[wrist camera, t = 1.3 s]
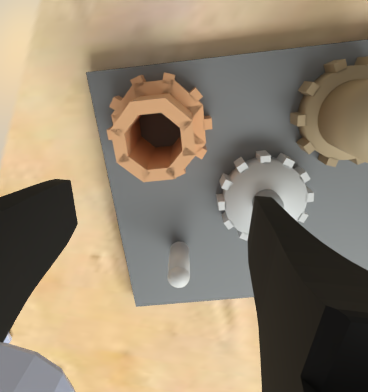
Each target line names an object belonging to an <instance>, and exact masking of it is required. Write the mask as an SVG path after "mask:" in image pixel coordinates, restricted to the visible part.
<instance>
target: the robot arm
mask: <svg viewBox="0 0 368 392" xmlns="http://www.w3.org/2000/svg"><path fill="white" fill-rule="evenodd" d="M77 224H78V223H77V217H76V211H75V205H74V199H73V193H72V187H71V181H70V180H61V179H54V180H49V181H46V182H42V183H39V184H36V185H33V186H30V187H28V188H25V189H22V190H19V191H16V192H14V193H11V194H8V195H5V196H2V197H0V392H75V390H74V388H73V386H72V384H71V383H70V381H69V380H68V378H67V377H66V375H65V373H64V372H63V370H62V369H61V368H60V367H58V366H57V365H55V364H54V363H52V362H51V361H49V360H48V359H46V358H45V357H43V356H42V355H40V354H39V353H37V352H34V351H31V350H28V349H25V348H21V347H18V346H15V345H11V344H9V343H10V341H11V340H12V337H11V335H10V333H9V331H10V329H11V327H12V325H13V324H14V322H15V320H16V318H17V316H18V315H19V313H20V311H21V310H22V308H23V306H24V304H25V303H26V301H27V299H28V298H29V296H30V295H31V293H32V292H33V290H34V289H35V287H36V286H37V284H38V283H39V282H40V280H41V279H42V278H43V276H44V275H45V274H46V272H47V271H48V270H49V268H50V267H51V266H52V264H53V263H54V262H55V260H56V259H57V257H58V256H59V255H60V253H61V252H62V251H63V249H64V248H65V246H66V245H67V243H68V242H69V240H70V238H71V236H72V234H73V232H74V230H75V228H76V226H77ZM248 264H249V270H250V276H251V282H252V288H253V293H254V299H255V305H256V311H257V318H258V326H259V341H260V358H261V377H262V392H368V270H366V269H364V268H362V267H361V266H359V265H357V264H355V263H353V262H352V261H350V260H348V259H347V258H345V257H343V256H342V255H340V254H339V253H337V252H336V251H334V250H333V249H331V248H330V247H328V246H327V245H325V244H324V243H323V242H321V241H320V240H319V239H317V238H316V237H315V236H314V235H312V234H311V233H310V232H309V231H307V230H306V229H305V228H304V227H303V226H302V225H300V224H299V223H298V222H297V221H296V220H295V219H294V218H293V217H292V216H291V215H290V214H289V213H288V212H287V211H285V210H284V209H283V208H282V207H281V206H280V205H279V204H278V203H277V202H276V201H275V200H274V199H273V198H272V197H265V196H255V197H254V203H253V210H252V216H251V222H250V228H249V234H248Z"/></svg>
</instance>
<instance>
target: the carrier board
mask: <svg viewBox="0 0 368 392" xmlns="http://www.w3.org/2000/svg"><path fill="white" fill-rule="evenodd" d="M164 72H165V73H170V74H174V75H176V76H175V80H176V81H177V82H178V83H179V84H180V85H181V86H183V87H184V88H185V89H186V90H187V91H188V92H190V91H191V90H192V89H193V88H194V87H196V89H197V90H198V91H199V92H200V93H201V95H202V96H203V97H202V98H201V99H200V100H199V101H200V102H201V103H202V104H203V111H204V116H209V115H210V116H211V118H212V129H209V130H205V136H206V144H205V146H206V148H207V152H206V154H205V155H204V157H203V158H202V159H200V158H198V157H197V156H195V157H194V158H193V159H192V160H191V162H190V163H189V164H188V165H187V166H186V173H185V174H183V175H181V176H178V177H177V178H176V179H171V180H161V181H151V182H142V181H141V180H140V179H138V178H137V177H135V176H134V175H133V174H131V173H130V172H129V171H127V170H126V169H124V168H123V167H122V166H120V165H119V164H118V163H117V162H116V157H115V152H114V147H113V142H112V140H108V135H107V129H108V128H110V127H111V126H113V122H112V116H111V115H112V113H113V112H114V111H115V110H114V109H112V108H110V107H109V106H110V104H111V102H112V99H113V97H115V96H118V95H119V96H120V97H122V98H124V96H125V95H126V93H127V92H128V90H129V89H130V88H131V86H132V83H131V81H130V80H131V79H133V78H135V77H137V76H139V75H143V76H144V78H145V80H146V82H148V81H157V80H163V74H164ZM86 75H87V79H88V84H89V89H90V93H91V98H92V103H93V107H94V112H95V117H96V121H97V126H98V131H99V135H100V140H101V145H102V149H103V154H104V159H105V164H106V168H107V173H108V178H109V182H110V187H111V192H112V196H113V201H114V206H115V210H116V215H117V220H118V224H119V229H120V234H121V238H122V243H123V248H124V252H125V257H126V262H127V267H128V271H129V276H130V281H131V285H132V290H133V295H134V299H135V304H136V307H137V306H150V305H162V304H174V303H186V302H199V301H211V300H223V299H235V298H248V297H254V293H253V288H252V282H251V276H250V270H249V264H248V234H249V228H250V222H251V216H252V210H253V203H254V197H255V196H265V197H272V198H273V199H274V200H275V201H276V202H277V203H278V204H279V205H280V206H281V207H282V208H283V209H284V210H285V211H287V212H288V213H289V214H290V215H291V216H292V217H293V218H294V219H295V220H296V221H297V222H298V223H299V224H300V225H302V226H303V227H304V228H305V229H306V230H307V231H309V232H310V233H311V234H312V235H314V236H315V237H316V238H317V239H319V240H320V241H321V242H323V243H324V244H325V245H327V246H328V247H330V248H331V249H333V250H334V251H336V252H337V253H339V254H340V255H342V256H343V257H345V258H347V259H348V260H350V261H352V262H353V263H355V264H357V265H359V266H361V267H362V268H364V269H366V270H368V40H359V41H350V42H342V43H333V44H325V45H316V46H308V47H299V48H291V49H282V50H273V51H265V52H256V53H248V54H239V55H231V56H222V57H213V58H205V59H196V60H188V61H179V62H171V63H162V64H154V65H145V66H136V67H128V68H119V69H111V70H102V71H94V72H86ZM139 123H140V130H141V136H142V137H143V138H144V139H145V140H147V141H148V142H149V143H150V144H152V145H153V146H154V147H164V146H172V145H173V144H174V143H175V142H176V141H177V139H178V138H179V137H180V136H181V133H180V127H178V126H177V125H176V124H175V123H173V122H172V121H171V120H170V119H168V118H167V117H166V116H165V115H164V114H162V113H153V114H144V115H142V116H141V117H140V118H139Z"/></svg>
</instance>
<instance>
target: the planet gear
mask: <svg viewBox="0 0 368 392" xmlns="http://www.w3.org/2000/svg"><path fill="white" fill-rule="evenodd" d="M175 76H176V75H174V74H170V73H165V72H164V74H163V80H157V81H148V82H146V80H145V78H144V76H143V75H139V76H137V77H135V78H133V79H131V80H130V81H131V83H132V86H131V88H130V89H129V90H128V92H127V93H126V95H125V96H124V98H122V97H120V96H119V95H118V96H115V97H113V99H112V102H111V104H110V106H109V107H110V108H112V109H114V110H115V111H114V112H113V113H112V115H111V116H112V122H113V126H111V127H110V128H108V129H107V135H108V140H112V142H113V147H114V152H115V157H116V162H117V163H118V164H119V165H120V166H122V167H123V168H124V169H126V170H127V171H129V172H130V173H131V174H133V175H134V176H135V177H137V178H138V179H140V180H141V181H142V182H151V181H161V180H171V179H176V178H177V177H178V176H181V175H183V174H185V173H186V166H187V165H188V164H189V163H190V162H191V160H192V159H193V158H194V157H195V156H197V157H198V158H200V159H202V158H203V157H204V155H205V154H206V152H207V148H206V146H205V144H206V136H205V130H209V129H212V118H211V116H210V115H209V116H204V111H203V104H202V103H201V102H200V101H199V100H200V99H201V98H202V97H203V96H202V95H201V93H200V92H199V91H198V90H197V89H196V87H194V88H193V89H192V90H191V91H190V92H188V91H187V90H186V89H185V88H184V87H183V86H181V85H180V84H179V83H178V82H177V81H176V80H175ZM153 113H162V114H164V115H165V116H166V117H167V118H168V119H170V120H171V121H172V122H173V123H175V124H176V125H177V126H178V127H180V133H181V136H180V137H179V138H178V139H177V141H176V142H175V143H174V144H173V145H172V146H164V147H154V146H153V145H152V144H150V143H149V142H148V141H147V140H145V139H144V138H143V137H142V136H141V130H140V123H139V118H140V117H141V116H142V115H144V114H153Z"/></svg>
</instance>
